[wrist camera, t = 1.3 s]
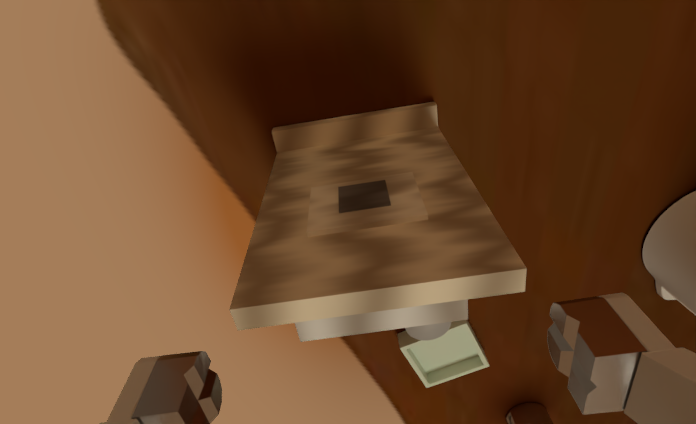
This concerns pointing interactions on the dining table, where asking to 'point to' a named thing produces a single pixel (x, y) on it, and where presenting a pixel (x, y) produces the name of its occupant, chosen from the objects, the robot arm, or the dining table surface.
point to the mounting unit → (370, 230)
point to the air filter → (528, 414)
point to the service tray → (444, 354)
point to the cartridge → (428, 331)
